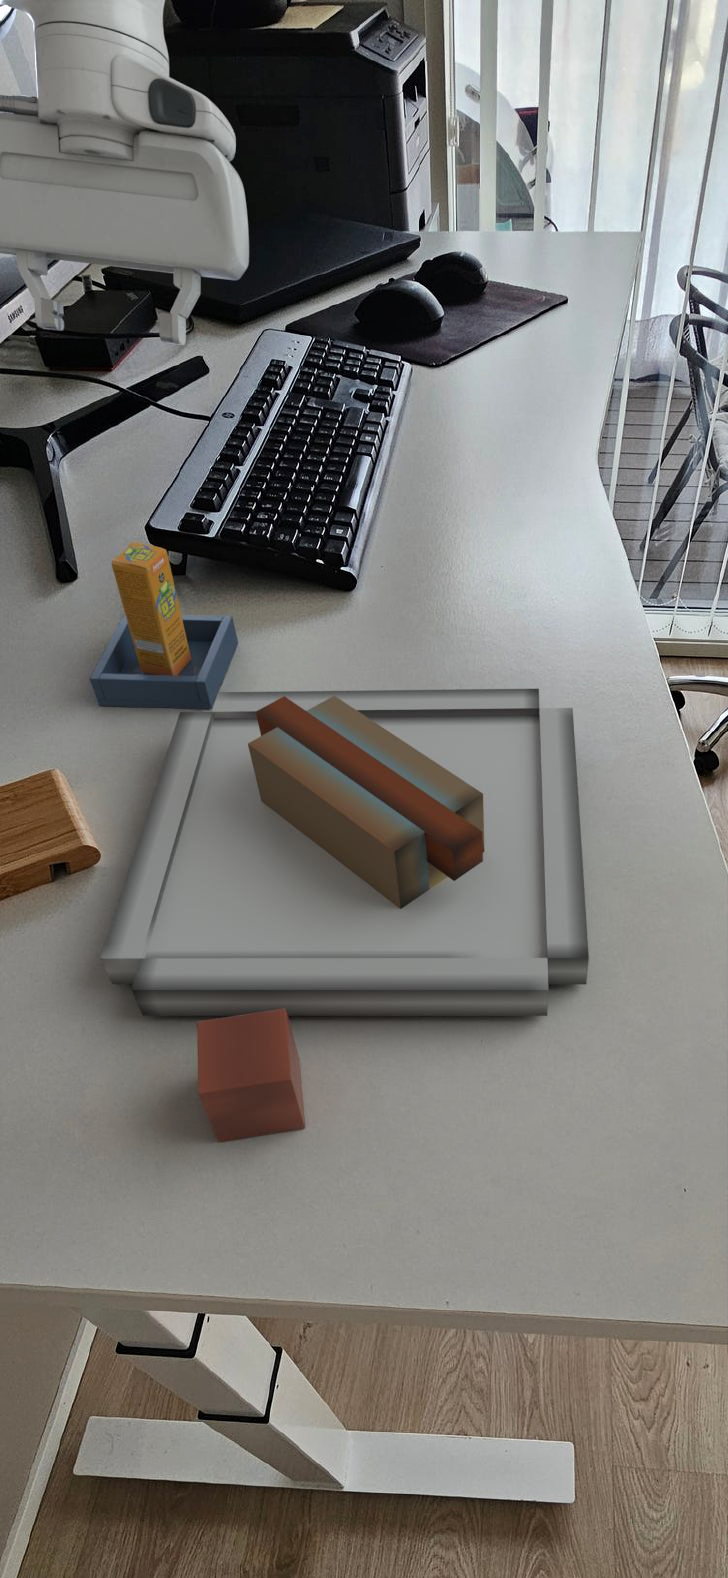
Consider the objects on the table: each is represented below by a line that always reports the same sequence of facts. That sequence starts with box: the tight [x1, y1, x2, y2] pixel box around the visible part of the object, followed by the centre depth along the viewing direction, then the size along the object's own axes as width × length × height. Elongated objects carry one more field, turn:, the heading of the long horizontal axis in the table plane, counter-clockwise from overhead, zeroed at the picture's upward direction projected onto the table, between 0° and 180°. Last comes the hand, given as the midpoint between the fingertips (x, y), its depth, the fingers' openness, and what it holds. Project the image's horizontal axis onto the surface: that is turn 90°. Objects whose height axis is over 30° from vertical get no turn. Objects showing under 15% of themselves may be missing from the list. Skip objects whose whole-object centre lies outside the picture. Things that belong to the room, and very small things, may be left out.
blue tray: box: [88, 613, 239, 710], centre depth 87 cm, size 10×10×3 cm
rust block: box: [196, 1009, 306, 1143], centre depth 59 cm, size 5×5×5 cm
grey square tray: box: [99, 688, 590, 1017], centre depth 70 cm, size 30×30×8 cm
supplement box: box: [111, 541, 191, 676], centre depth 84 cm, size 3×3×10 cm
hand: (111, 335), depth 78 cm, fingers open, 8 cm apart
